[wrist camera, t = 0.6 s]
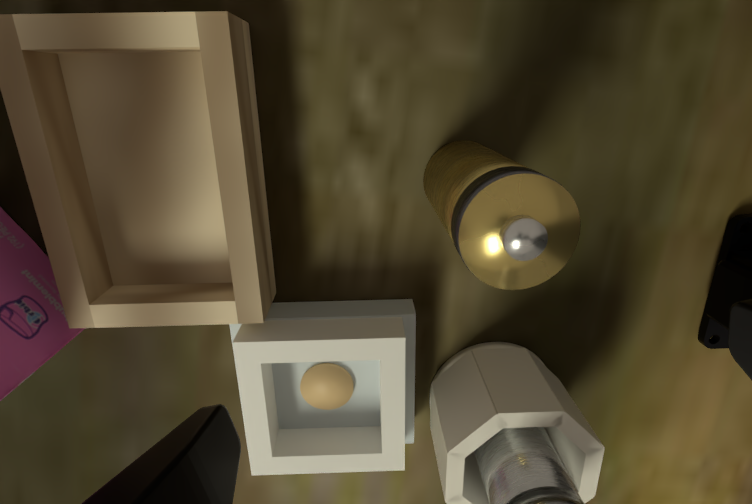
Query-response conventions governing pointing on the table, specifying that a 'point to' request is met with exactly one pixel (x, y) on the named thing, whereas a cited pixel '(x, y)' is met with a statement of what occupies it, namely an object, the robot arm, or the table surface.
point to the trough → (143, 163)
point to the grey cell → (524, 469)
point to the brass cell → (501, 215)
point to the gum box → (27, 307)
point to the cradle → (328, 386)
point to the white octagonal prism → (504, 417)
